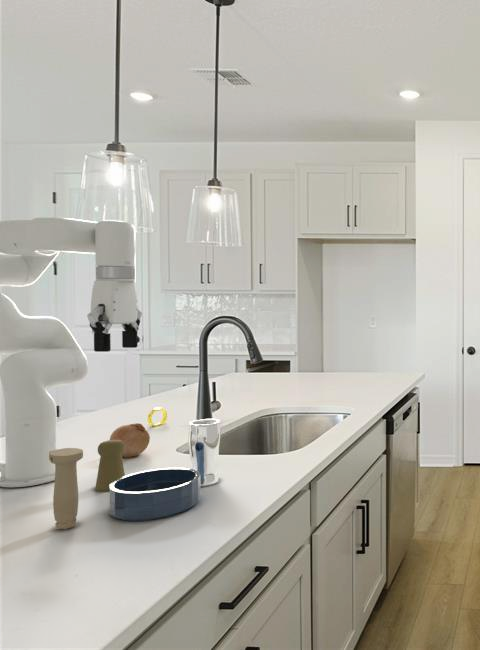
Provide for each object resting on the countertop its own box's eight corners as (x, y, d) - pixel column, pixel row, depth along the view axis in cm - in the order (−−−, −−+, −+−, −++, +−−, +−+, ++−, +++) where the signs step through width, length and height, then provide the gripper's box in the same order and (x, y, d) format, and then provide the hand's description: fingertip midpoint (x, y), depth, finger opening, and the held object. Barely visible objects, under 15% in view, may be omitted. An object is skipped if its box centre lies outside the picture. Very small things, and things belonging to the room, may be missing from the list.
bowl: (89, 521, 114) (89, 492, 114) (142, 492, 131) (142, 467, 131) (172, 523, 114) (172, 493, 114) (214, 494, 131) (214, 468, 131)
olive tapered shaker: (132, 484, 136) (132, 439, 136) (107, 492, 130) (107, 445, 130) (114, 481, 138) (114, 436, 138) (89, 488, 132) (89, 442, 132)
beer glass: (206, 488, 134) (206, 426, 134) (181, 485, 136) (181, 424, 135) (226, 479, 141) (227, 419, 141) (202, 476, 143) (203, 418, 142)
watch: (163, 422, 198) (163, 406, 198) (168, 423, 197) (168, 406, 197) (146, 426, 193) (146, 409, 192) (151, 427, 191) (151, 409, 191)
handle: (70, 519, 115) (70, 446, 114) (88, 525, 112) (88, 451, 112) (42, 528, 111) (42, 452, 110) (60, 534, 108) (60, 457, 107)
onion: (145, 463, 162) (164, 431, 164) (120, 464, 153) (140, 429, 154) (119, 449, 163) (138, 417, 165) (93, 449, 154) (113, 415, 156)
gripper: (123, 276, 138) (123, 346, 138) (71, 273, 120) (72, 353, 121) (154, 276, 138) (155, 346, 138) (107, 273, 121) (108, 353, 121)
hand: (116, 349), depth 130 cm, fingers open, 9 cm apart
